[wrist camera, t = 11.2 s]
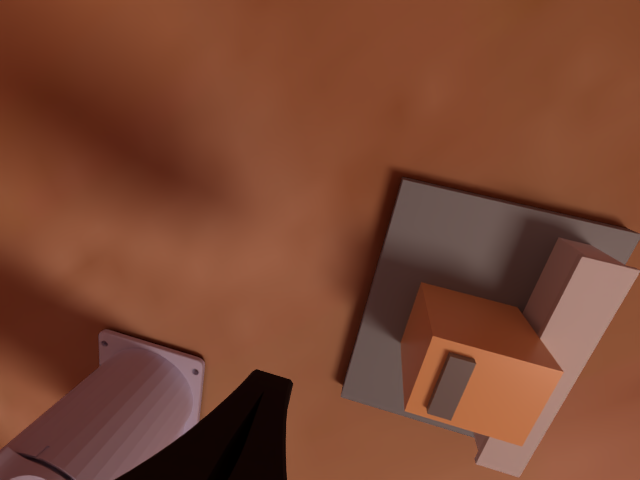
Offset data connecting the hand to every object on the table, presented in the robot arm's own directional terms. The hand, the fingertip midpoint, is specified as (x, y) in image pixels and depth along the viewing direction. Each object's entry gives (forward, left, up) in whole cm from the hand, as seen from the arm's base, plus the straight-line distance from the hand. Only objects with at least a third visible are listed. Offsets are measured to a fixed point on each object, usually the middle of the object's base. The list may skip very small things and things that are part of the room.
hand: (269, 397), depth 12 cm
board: (0, -8, -9) cm, 13 cm away
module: (0, -8, -8) cm, 12 cm away
